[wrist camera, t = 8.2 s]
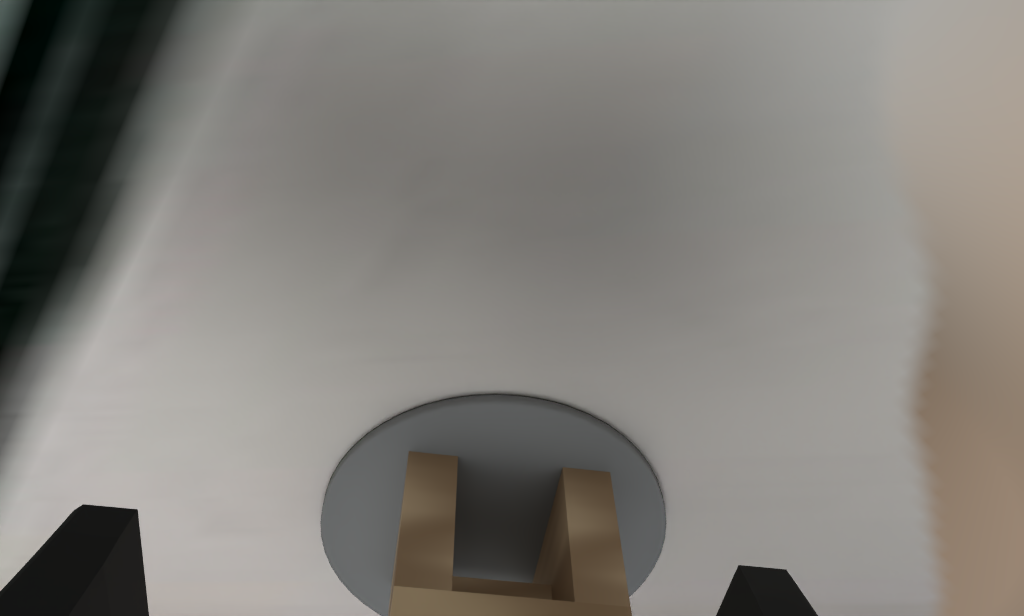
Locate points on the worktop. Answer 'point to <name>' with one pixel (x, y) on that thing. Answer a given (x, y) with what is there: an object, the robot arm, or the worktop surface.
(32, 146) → the worktop surface
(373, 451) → the pad
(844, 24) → the worktop surface
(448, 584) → the slotted wooden block
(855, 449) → the worktop surface
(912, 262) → the worktop surface
